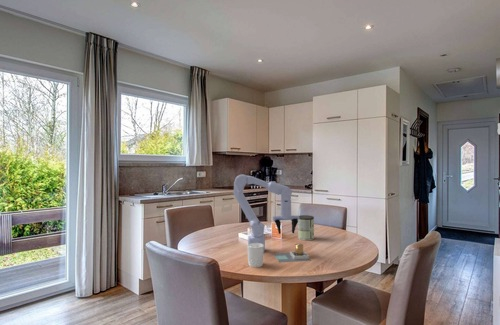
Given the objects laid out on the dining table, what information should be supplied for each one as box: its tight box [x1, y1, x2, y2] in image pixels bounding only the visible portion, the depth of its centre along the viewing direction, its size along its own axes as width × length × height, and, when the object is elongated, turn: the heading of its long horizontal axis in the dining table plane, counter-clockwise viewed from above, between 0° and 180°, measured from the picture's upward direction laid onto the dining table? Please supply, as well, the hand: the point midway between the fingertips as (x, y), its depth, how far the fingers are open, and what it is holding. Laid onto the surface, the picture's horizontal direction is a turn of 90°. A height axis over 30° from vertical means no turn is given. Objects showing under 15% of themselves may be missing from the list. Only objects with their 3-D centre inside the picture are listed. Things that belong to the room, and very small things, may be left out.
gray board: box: [273, 250, 312, 263], centre depth 147 cm, size 16×14×2 cm
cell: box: [294, 243, 304, 256], centre depth 148 cm, size 4×4×7 cm
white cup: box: [246, 243, 265, 268], centre depth 137 cm, size 8×8×10 cm
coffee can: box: [297, 214, 315, 241], centre depth 187 cm, size 10×10×14 cm
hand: (286, 233), depth 158 cm, fingers open, 7 cm apart
